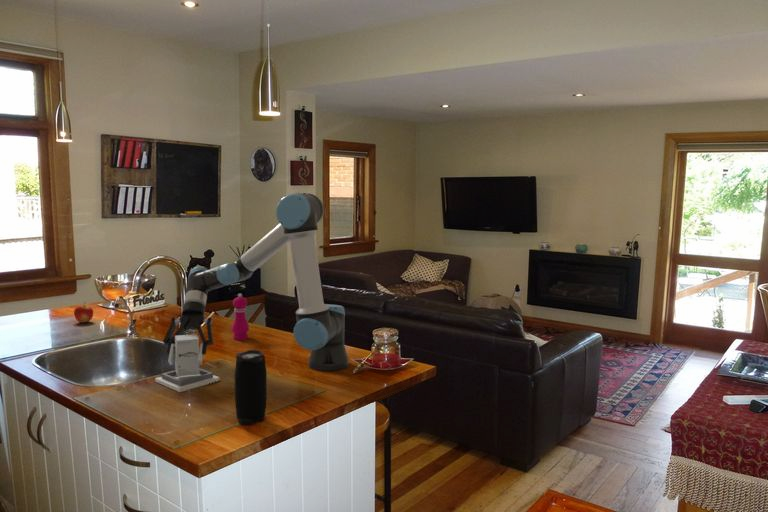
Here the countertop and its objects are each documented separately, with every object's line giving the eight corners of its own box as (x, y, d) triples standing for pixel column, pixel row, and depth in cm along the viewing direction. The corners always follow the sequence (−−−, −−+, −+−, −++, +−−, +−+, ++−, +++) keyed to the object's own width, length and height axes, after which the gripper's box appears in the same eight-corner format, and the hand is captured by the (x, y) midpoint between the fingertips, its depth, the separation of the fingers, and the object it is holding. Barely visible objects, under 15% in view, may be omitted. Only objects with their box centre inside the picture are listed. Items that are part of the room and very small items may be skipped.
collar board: (219, 380, 194) (219, 372, 193) (179, 392, 182) (179, 384, 182) (194, 371, 203) (194, 363, 203) (155, 381, 191) (155, 373, 191)
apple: (82, 320, 275) (81, 300, 274) (97, 321, 274) (96, 300, 273) (70, 324, 267) (69, 303, 266) (86, 325, 266) (85, 304, 265)
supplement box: (176, 377, 187) (175, 340, 186) (175, 370, 194) (174, 335, 193) (200, 375, 190) (199, 338, 189) (197, 368, 197) (197, 333, 196)
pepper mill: (228, 339, 246) (227, 294, 244) (238, 335, 253) (238, 291, 250) (242, 341, 243) (241, 295, 241) (252, 337, 250) (251, 292, 248)
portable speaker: (230, 425, 157) (229, 357, 155) (242, 412, 167) (241, 348, 164) (260, 427, 157) (260, 358, 154) (270, 414, 166) (269, 349, 164)
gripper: (226, 311, 206) (219, 367, 193) (165, 311, 204) (153, 368, 190) (224, 299, 200) (216, 356, 187) (160, 300, 198) (148, 357, 184)
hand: (184, 362), depth 188 cm, fingers closed on supplement box, 9 cm apart
